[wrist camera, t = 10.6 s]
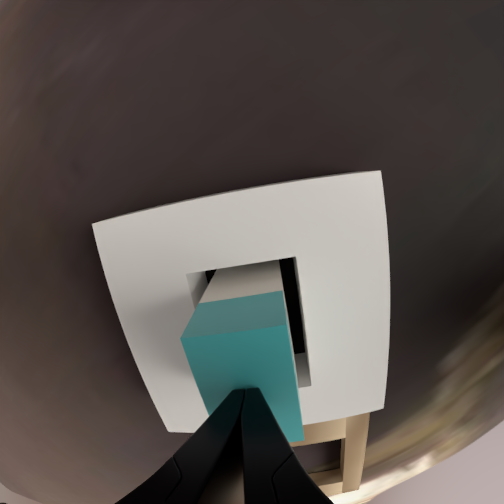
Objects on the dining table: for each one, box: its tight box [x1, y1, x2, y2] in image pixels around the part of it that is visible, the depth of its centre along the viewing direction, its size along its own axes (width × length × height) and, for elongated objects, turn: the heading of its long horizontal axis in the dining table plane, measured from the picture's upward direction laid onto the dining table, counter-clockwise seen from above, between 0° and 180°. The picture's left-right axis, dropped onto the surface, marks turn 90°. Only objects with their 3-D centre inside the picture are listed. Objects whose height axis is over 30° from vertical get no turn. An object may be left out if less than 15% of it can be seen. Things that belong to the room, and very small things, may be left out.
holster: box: [289, 412, 370, 496], centre depth 17 cm, size 7×11×2 cm
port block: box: [92, 171, 390, 433], centre depth 14 cm, size 12×12×3 cm
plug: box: [180, 259, 304, 442], centre depth 12 cm, size 3×5×7 cm, turn 11°
